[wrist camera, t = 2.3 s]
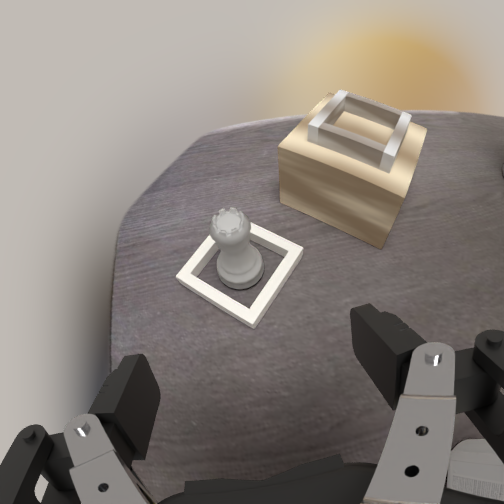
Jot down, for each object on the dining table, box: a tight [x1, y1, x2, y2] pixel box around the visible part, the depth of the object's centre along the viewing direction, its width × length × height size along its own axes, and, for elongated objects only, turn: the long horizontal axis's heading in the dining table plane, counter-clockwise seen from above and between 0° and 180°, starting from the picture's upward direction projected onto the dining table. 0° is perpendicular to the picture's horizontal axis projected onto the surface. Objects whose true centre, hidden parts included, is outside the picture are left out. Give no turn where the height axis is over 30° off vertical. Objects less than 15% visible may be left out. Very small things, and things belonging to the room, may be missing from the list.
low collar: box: [176, 223, 303, 329], centre depth 29 cm, size 9×9×2 cm
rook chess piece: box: [209, 207, 264, 289], centre depth 26 cm, size 4×4×8 cm
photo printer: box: [447, 439, 504, 501], centre depth 10 cm, size 10×4×12 cm, turn 0°
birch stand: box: [278, 90, 427, 249], centre depth 29 cm, size 12×12×10 cm
